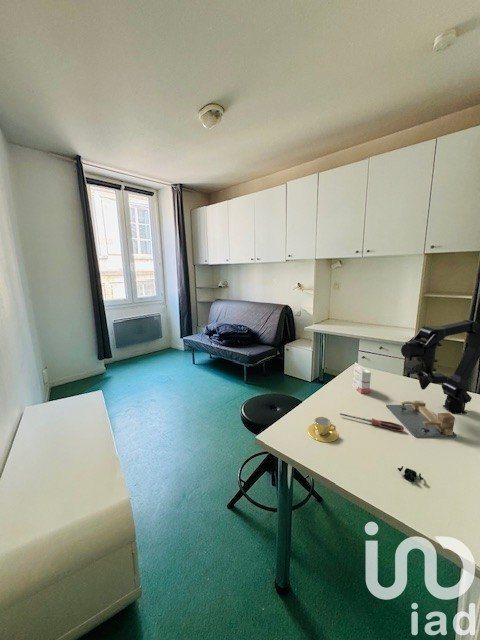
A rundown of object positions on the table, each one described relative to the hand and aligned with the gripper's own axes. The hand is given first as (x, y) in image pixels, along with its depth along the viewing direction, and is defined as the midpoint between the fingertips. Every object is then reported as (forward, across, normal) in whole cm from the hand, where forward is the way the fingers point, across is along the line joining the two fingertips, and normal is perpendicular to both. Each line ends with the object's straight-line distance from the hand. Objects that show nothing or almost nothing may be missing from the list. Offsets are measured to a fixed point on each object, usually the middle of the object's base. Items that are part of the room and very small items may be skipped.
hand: (422, 389), depth 114 cm
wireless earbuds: (+12, +34, -27) cm, 45 cm away
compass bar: (+11, +5, -2) cm, 12 cm away
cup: (+12, +11, -48) cm, 50 cm away
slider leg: (+11, +13, -3) cm, 17 cm away
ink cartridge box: (+12, -24, -16) cm, 31 cm away
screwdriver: (+12, +6, -26) cm, 29 cm away
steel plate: (+12, +5, -4) cm, 14 cm away
